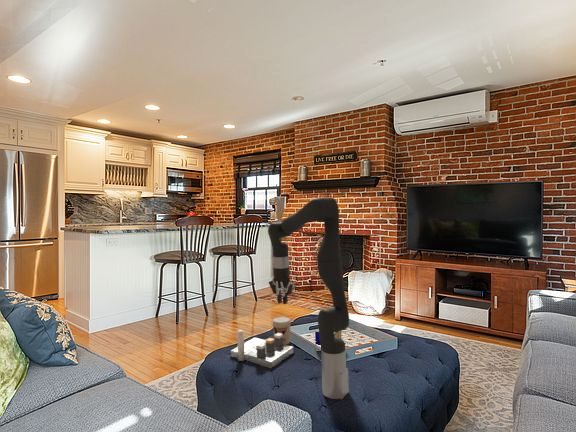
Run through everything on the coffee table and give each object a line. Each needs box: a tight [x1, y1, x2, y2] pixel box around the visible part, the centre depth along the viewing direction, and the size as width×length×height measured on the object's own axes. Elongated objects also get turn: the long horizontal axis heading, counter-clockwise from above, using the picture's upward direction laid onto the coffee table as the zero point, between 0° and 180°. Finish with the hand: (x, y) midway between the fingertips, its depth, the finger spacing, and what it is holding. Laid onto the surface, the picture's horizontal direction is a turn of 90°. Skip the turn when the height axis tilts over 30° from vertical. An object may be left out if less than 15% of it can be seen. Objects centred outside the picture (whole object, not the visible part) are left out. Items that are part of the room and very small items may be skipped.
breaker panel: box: [230, 337, 294, 369], centre depth 178 cm, size 24×18×3 cm
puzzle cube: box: [314, 328, 343, 345], centre depth 181 cm, size 10×10×10 cm
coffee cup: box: [272, 316, 292, 345], centre depth 192 cm, size 9×9×12 cm
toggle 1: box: [256, 343, 266, 358], centre depth 169 cm, size 3×3×5 cm
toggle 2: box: [265, 337, 275, 352], centre depth 175 cm, size 3×3×5 cm
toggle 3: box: [273, 333, 283, 347], centre depth 180 cm, size 3×3×5 cm
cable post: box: [236, 329, 245, 362], centre depth 172 cm, size 4×4×14 cm
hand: (282, 303), depth 169 cm, fingers closed
